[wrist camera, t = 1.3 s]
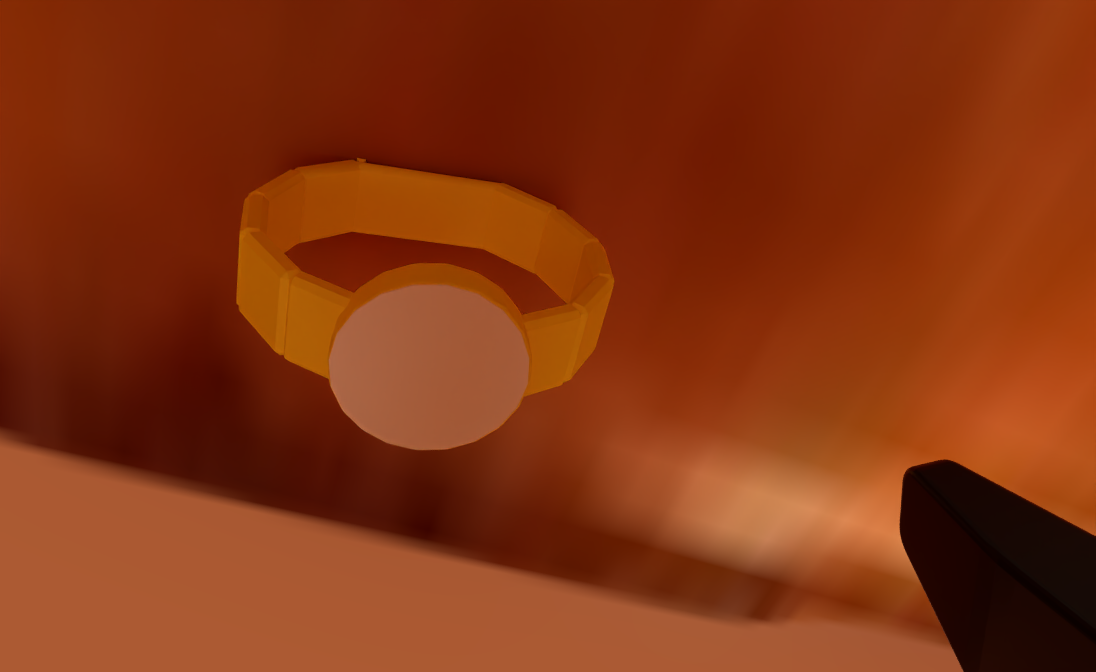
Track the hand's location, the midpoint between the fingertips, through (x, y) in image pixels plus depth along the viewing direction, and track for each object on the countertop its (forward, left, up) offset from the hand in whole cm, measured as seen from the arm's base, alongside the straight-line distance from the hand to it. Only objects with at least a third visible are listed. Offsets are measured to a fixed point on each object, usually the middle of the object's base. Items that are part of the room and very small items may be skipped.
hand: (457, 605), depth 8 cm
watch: (0, 0, -10) cm, 10 cm away
